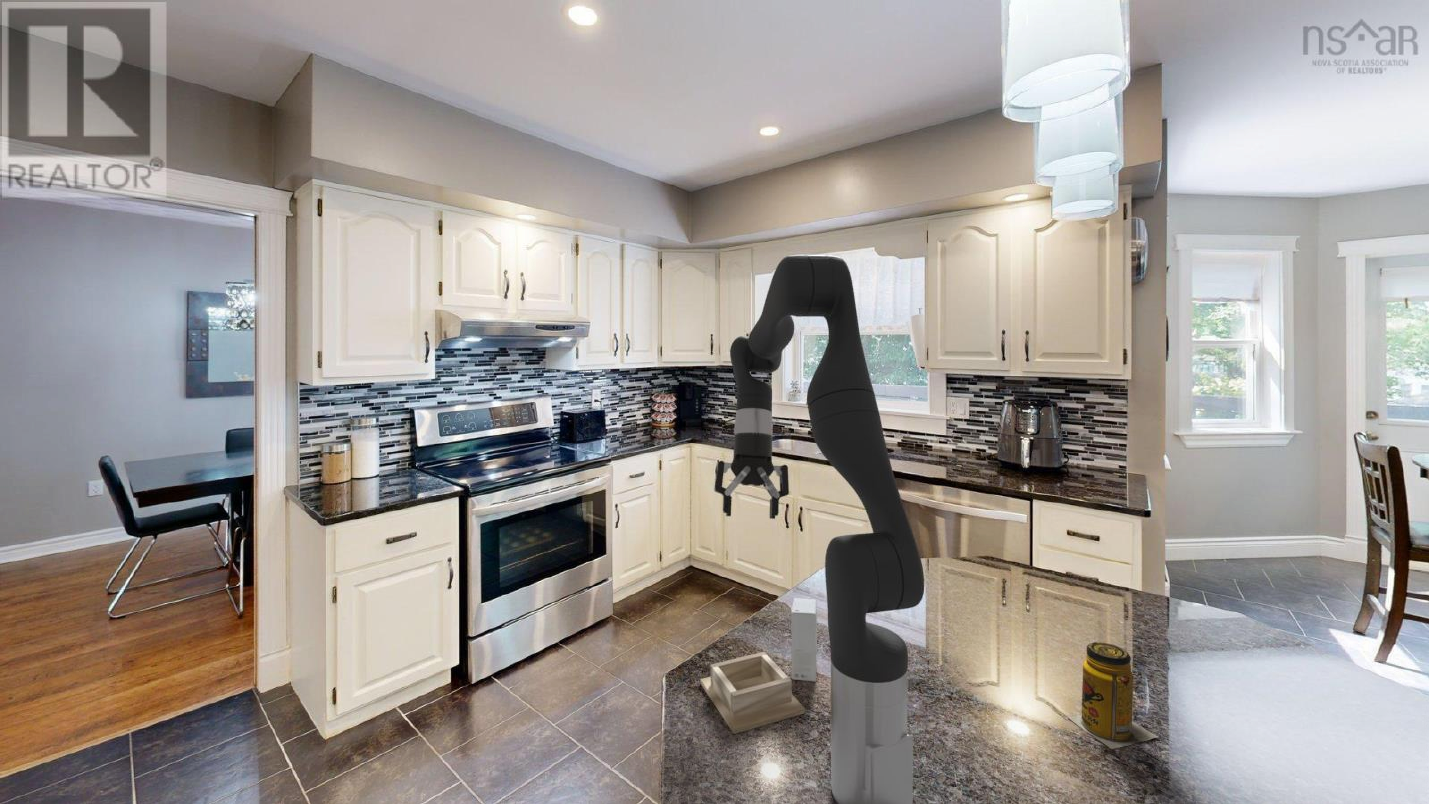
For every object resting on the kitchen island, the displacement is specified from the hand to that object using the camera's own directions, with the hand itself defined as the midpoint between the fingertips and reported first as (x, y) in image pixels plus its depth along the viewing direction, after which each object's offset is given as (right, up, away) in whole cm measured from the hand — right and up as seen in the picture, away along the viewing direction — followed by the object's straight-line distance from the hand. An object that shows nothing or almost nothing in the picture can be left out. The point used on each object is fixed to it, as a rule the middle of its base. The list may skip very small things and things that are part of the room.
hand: (750, 517), depth 108 cm
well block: (-1, -26, -17) cm, 31 cm away
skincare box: (+9, -25, -9) cm, 28 cm away
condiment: (+51, -26, -26) cm, 63 cm away
